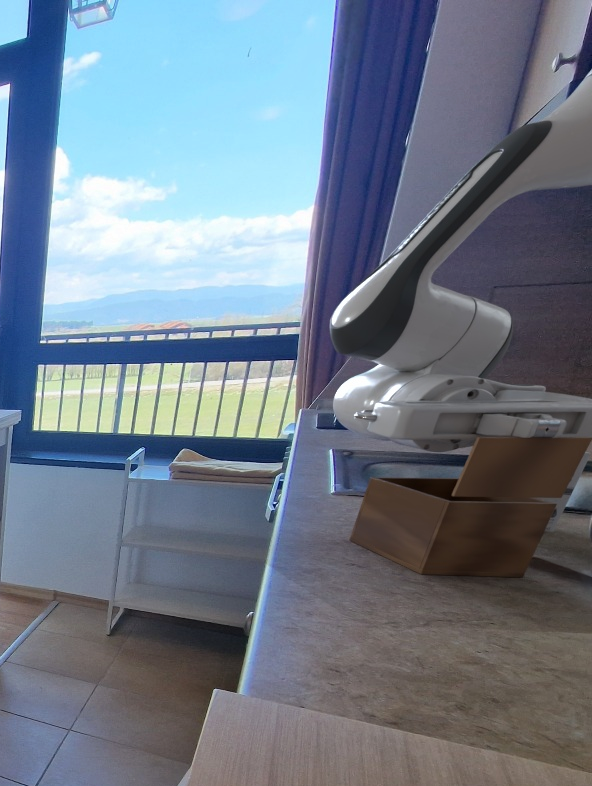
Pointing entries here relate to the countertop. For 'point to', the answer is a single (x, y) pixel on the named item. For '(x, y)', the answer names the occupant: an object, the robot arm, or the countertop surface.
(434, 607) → the countertop surface
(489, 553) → the carton
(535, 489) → the flap
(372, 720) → the countertop surface
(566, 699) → the countertop surface
